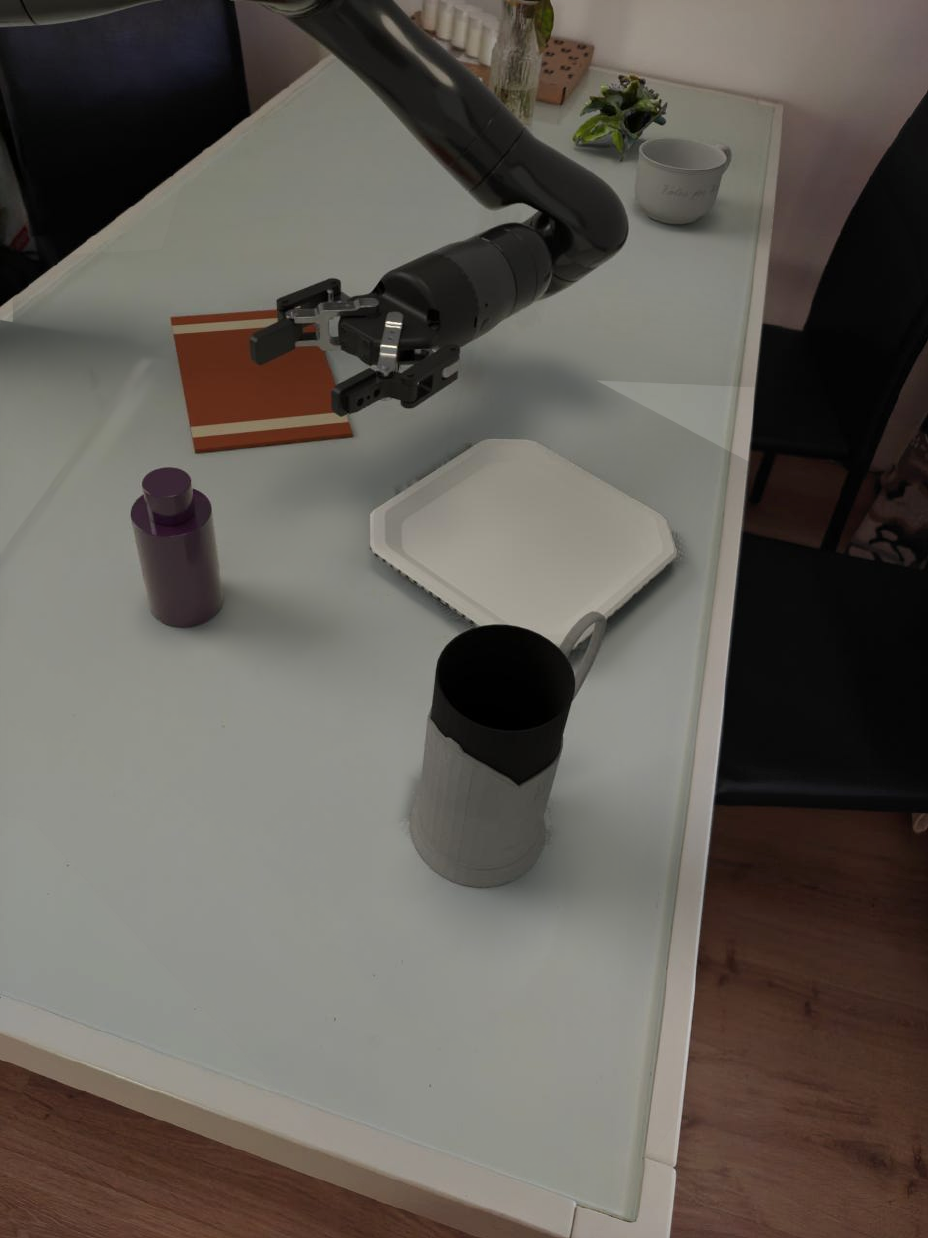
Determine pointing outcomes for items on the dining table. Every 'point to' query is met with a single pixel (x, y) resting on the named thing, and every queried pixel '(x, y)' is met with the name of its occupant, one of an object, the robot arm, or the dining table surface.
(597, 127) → the green leafy clump
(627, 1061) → the dining table surface
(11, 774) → the dining table surface
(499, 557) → the plate
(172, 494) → the bottle
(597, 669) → the dining table surface
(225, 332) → the towel
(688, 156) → the teacup
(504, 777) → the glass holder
